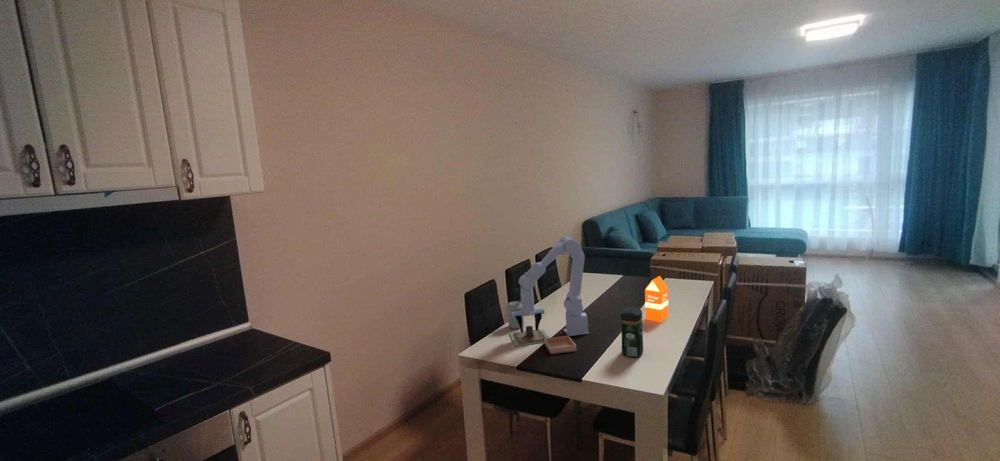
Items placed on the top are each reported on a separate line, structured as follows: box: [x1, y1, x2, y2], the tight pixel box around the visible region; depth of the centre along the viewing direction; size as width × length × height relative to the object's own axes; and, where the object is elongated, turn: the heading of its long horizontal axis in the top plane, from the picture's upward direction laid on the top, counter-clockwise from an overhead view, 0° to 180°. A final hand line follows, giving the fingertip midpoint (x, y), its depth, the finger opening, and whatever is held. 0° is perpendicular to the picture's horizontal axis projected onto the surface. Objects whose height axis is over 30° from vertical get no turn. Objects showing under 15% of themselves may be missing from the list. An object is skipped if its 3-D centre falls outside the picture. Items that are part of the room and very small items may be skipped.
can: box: [507, 300, 525, 330], centre depth 217 cm, size 8×8×12 cm
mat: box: [509, 329, 550, 347], centre depth 202 cm, size 16×14×1 cm
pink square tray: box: [543, 335, 577, 355], centre depth 190 cm, size 11×11×2 cm
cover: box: [513, 325, 546, 344], centre depth 202 cm, size 12×12×5 cm
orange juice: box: [644, 275, 669, 323], centre depth 215 cm, size 8×9×20 cm
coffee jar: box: [620, 306, 644, 358], centre depth 179 cm, size 10×8×19 cm
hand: (529, 330), depth 202 cm, fingers open, 6 cm apart
